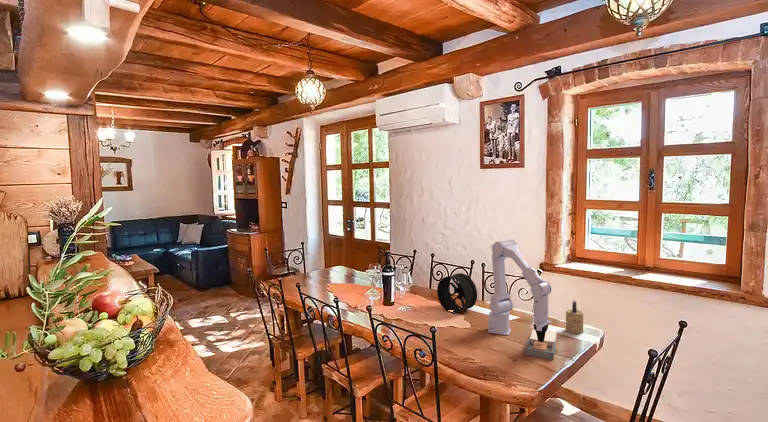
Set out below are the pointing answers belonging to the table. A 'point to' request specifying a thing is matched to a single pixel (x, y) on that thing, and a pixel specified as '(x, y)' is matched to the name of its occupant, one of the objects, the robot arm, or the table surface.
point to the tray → (539, 351)
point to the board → (549, 337)
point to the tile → (540, 346)
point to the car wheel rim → (464, 291)
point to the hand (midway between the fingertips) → (541, 341)
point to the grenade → (574, 320)
